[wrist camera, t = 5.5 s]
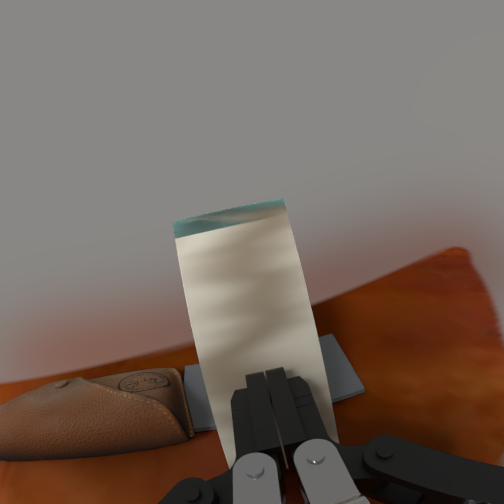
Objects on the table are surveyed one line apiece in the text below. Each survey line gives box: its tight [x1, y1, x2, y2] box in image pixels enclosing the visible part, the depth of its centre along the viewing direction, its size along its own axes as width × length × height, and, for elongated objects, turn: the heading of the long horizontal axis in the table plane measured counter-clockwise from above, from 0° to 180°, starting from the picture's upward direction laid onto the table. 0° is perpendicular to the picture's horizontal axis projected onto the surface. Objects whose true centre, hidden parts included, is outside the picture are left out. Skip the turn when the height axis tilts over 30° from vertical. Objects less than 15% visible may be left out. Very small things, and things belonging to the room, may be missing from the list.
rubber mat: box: [184, 334, 365, 432], centre depth 19 cm, size 12×6×1 cm, turn 97°
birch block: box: [173, 198, 339, 469], centre depth 14 cm, size 5×5×12 cm
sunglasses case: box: [0, 368, 195, 461], centre depth 15 cm, size 18×7×7 cm, turn 108°
